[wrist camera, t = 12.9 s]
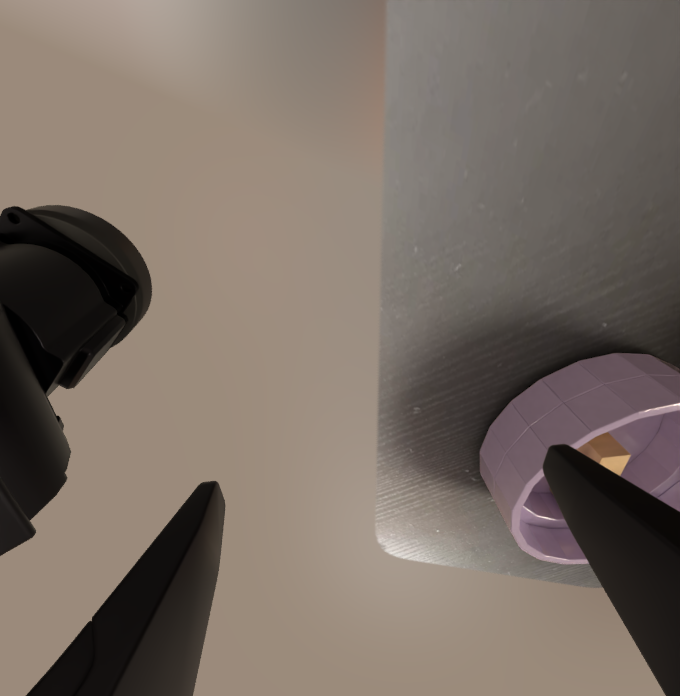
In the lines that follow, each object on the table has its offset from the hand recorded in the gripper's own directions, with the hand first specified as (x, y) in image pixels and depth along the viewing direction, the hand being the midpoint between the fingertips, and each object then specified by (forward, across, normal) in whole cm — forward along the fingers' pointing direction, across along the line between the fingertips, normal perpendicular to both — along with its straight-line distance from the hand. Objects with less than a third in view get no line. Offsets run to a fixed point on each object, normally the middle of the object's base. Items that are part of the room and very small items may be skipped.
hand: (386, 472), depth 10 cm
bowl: (+12, -17, +13) cm, 24 cm away
